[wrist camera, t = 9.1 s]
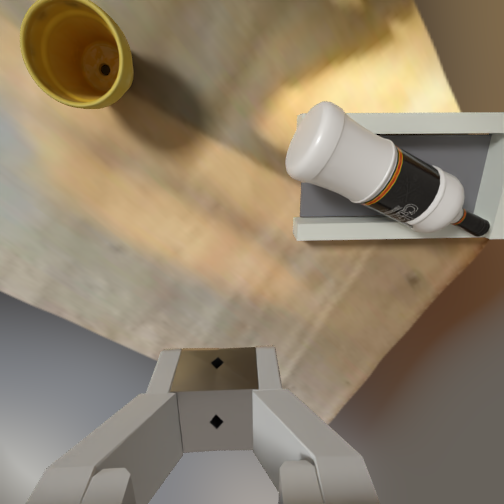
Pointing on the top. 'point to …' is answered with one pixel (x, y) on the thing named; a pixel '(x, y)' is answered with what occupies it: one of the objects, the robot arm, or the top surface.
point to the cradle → (430, 151)
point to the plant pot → (76, 53)
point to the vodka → (376, 173)
